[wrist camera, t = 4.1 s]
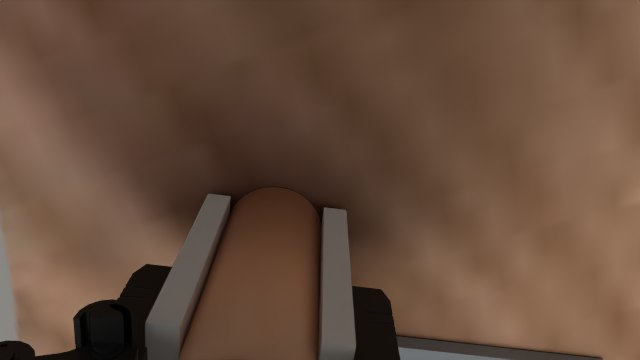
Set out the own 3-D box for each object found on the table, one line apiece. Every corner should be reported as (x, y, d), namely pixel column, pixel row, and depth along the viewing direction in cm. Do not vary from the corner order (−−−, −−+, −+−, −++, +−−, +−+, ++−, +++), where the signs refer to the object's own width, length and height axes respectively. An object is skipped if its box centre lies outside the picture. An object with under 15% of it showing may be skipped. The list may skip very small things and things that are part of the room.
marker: (228, 178, 17) (133, 401, 9) (330, 190, 17) (333, 421, 9) (223, 265, 19) (136, 528, 10) (318, 275, 19) (309, 544, 10)
